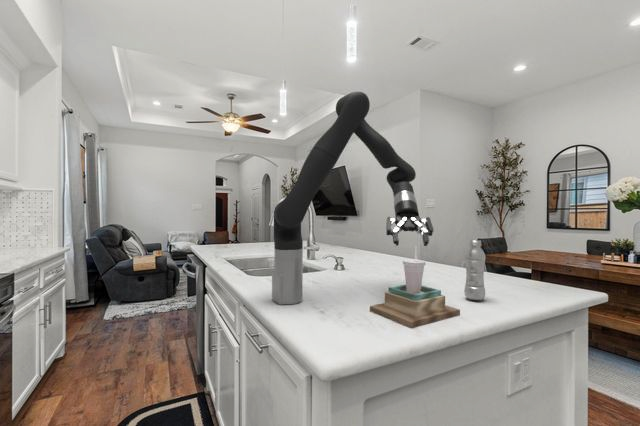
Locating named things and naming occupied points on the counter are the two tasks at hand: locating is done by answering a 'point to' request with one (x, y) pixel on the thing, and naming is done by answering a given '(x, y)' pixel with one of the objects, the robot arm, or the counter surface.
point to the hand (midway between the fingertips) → (411, 244)
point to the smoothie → (413, 274)
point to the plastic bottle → (475, 271)
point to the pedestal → (414, 306)
